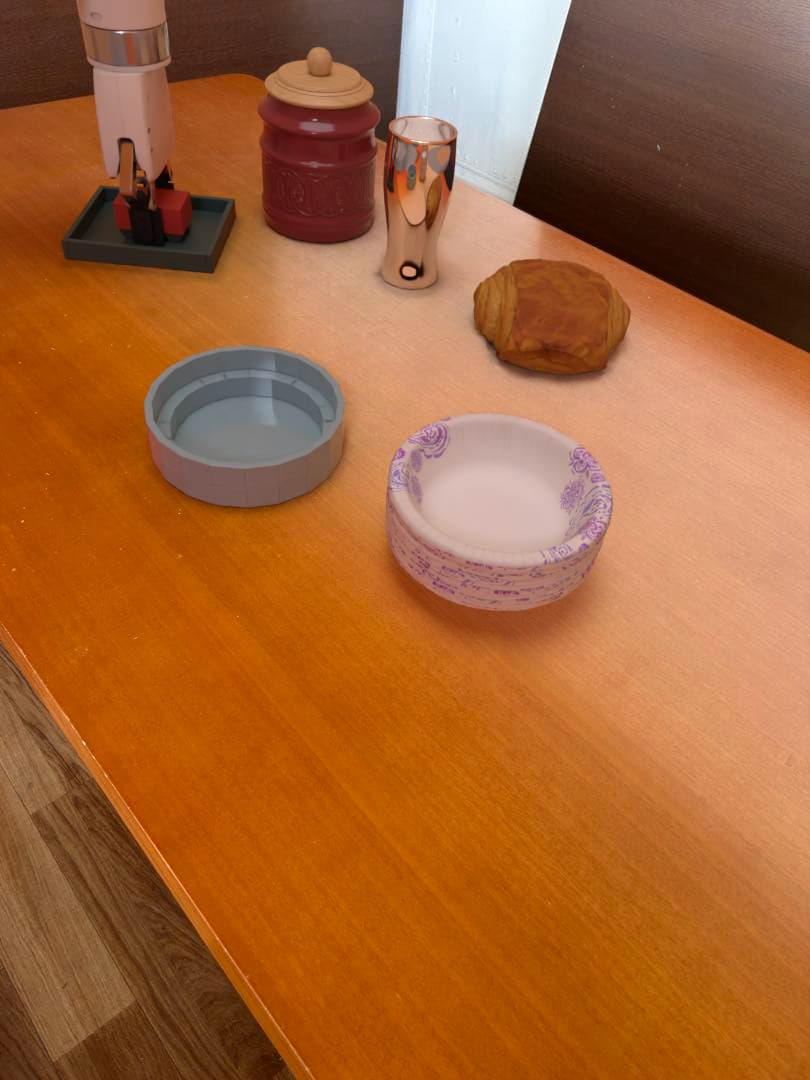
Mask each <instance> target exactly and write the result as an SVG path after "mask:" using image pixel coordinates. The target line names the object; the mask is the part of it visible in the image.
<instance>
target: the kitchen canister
mask: <svg viewBox="0 0 810 1080" xmlns="http://www.w3.org/2000/svg"><path fill="white" fill-rule="evenodd" d="M264 88H265V90H266V92H267V94H266V95H265V96H263V97H262V98H261V99H260V100H259V102H258V104H257V108H256V109H257V113H258V116H259V117H260V118H261V120H262V121H263V122H262V124H263V125H262V126H263V127H262V132H261V134H260V135H259V138H258V144H259V147H260V152H261V155H260V156H261V174H262V175H261V176H262V193H261V200H262V202H261V206H262V210H263V212H264V217H265V221H266V222H267V223H268V225H269V226H270V227H271V228H272V229H273V230H275V231H276V232H278V233H280V234H282V235H284V236H286V237H288V238H292V239H295V240H299V241H304V242H310V243H311V242H312V243H336V242H337V243H338V242H343V241H344V242H345V241H347V240H351V239H354V238H356V237H359V236H361V235H363V234H364V233H365V232H367V231H368V230H369V229H370V227H371V226H372V223H373V217H374V215H375V212H376V198H375V191H376V190H375V189H376V188H375V187H376V170H377V155H378V153H379V143H378V141H377V139H376V138H375V137H376V135H375V133H376V132H375V128H376V127H377V125H378V124H379V123H380V120H381V112H380V110H379V108H378V107H377V105H376V104H375V103H374V102H372V101H371V99H372V98H373V96H374V92H375V91H374V86H373V85H372V84H371V83H370V82H369V81H368V80H367V79H366V78H365V77H364V76H363V77H362V76H361V73H360V72H358V71H357V70H356V69H354V68H353V67H351V66H348V65H347V64H343V63H341V62H336V61H333V57H332V55H331V53H330V51H329V50H328V49H326V48H325V47H322V46H315V47H313V48H311V49H310V50H309V52H308V53H307V56H306V59H301V60H293V61H290V62H287V63H284V64H282V66H280V67H278V69H277V70H276V71H274V72H272V73H271V74H269V75H268V76H267V77H266V78H265V80H264Z"/></svg>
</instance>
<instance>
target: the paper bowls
mask: <svg viewBox="0 0 810 1080" xmlns="http://www.w3.org/2000/svg"><path fill="white" fill-rule="evenodd" d="M611 488H612V487H611V485H610V482H609V479H608V476H607V474H606V472H605V471H604V469H603V467H602V466H601V465H600V463H599V462H598V460H597V459H596V458H595V456H593V454H592V453H591V452H590V451H588V449H586V448H585V447H584V446H583V445H582V444H580V443H579V442H578V441H576V439H574V438H572V437H570V436H569V435H567V434H565V433H563V432H561V431H560V430H558V429H556V428H554V427H553V426H552V427H551V426H550V425H548V424H545V423H542V422H540V421H536V420H534V419H530V418H526V417H523V416H518V415H512V414H507V413H500V412H499V413H497V412H473V413H463V414H458V415H453V416H448V417H444V418H440V419H438V420H435V421H433V422H431V423H429V424H426V425H425V426H423V427H422V428H420V429H418V430H416V431H415V432H414V433H413V434H411V435H410V436H409V437H408V438H407V439H406V440H404V442H403V443H402V444H401V445H400V447H399V448H398V450H396V452H395V453H394V456H393V457H392V460H391V461H390V464H389V468H388V474H387V487H386V497H385V498H386V500H385V514H384V515H385V517H384V522H385V533H386V538H387V542H388V546H389V547H390V549H391V552H392V554H393V556H394V558H395V559H396V561H397V563H398V564H399V566H401V568H403V569H404V570H405V572H407V573H408V574H409V575H410V577H411V578H412V579H414V581H416V582H418V583H419V584H420V585H422V586H423V587H424V588H426V589H427V590H429V591H430V592H432V593H433V594H435V595H437V596H439V597H441V598H443V599H445V600H447V601H450V602H452V603H455V604H456V605H461V606H463V607H464V606H465V607H468V608H473V609H480V610H484V611H485V610H486V611H497V612H501V611H502V612H516V611H520V612H521V611H526V610H531V609H535V608H538V607H541V606H545V605H548V604H551V603H554V602H556V601H558V600H561V599H563V598H564V597H566V596H567V595H569V594H571V592H573V591H574V590H576V589H577V588H578V587H579V586H580V585H581V584H582V583H583V582H584V581H585V580H586V578H587V576H588V575H589V574H590V573H591V571H592V569H593V567H594V565H595V563H596V561H597V558H598V555H599V553H600V551H601V549H602V547H603V542H604V539H605V536H606V534H607V532H608V529H609V527H610V525H611V521H612V516H613V504H614V501H613V500H614V497H613V492H612V489H611Z"/></svg>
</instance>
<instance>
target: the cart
mask: <svg viewBox="0 0 810 1080" xmlns="http://www.w3.org/2000/svg"><path fill="white" fill-rule="evenodd" d="M137 187H138V190H143V191H144V193H145V194H146V195H147V188H146V187H143V186H138V185H137ZM190 194H191V192H190V191H187V190H177V189H175V190H169V189H160V188H155V196H156V207H157V208H160V211H161V218H162V224H163V231H164V233H165V235H166V237H167V239H168V240H169V241H171V242H174V243H177V242H179V241H181V239H182V237H183V235H184V233H185V231H186V229H187V227H188V225H189V223H190V221H191V219H192V207H191V198H190ZM113 208H114V213H115V218H116V224H117V228H118V229H120V232H121V233H122V235H124V236H125V237H127V238H133V235H132V230H131V224H130V219H129V213H128V209H127V208H126V201H125V199H124V198H123V197H122V196H121V195H120V192H119V194H118V195H117V197H116V198H115V200H114V202H113Z"/></svg>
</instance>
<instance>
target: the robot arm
mask: <svg viewBox="0 0 810 1080" xmlns="http://www.w3.org/2000/svg"><path fill="white" fill-rule="evenodd" d="M75 2H76V7H77V11H78V17H79V22H80V27H81V33H82V37H83V38H82V39H83V42H84V48H85V52H86V53H85V54H86V60H87V62H88V63H89V64H90V65H91V66H93V69H92V73H93V74H92V75H93V76H92V77H93V78H92V79H93V93H94V103H95V105H94V106H95V112H96V113H95V114H96V119H97V126H98V127H97V128H98V134H99V140H100V147H101V154H102V160H103V166H104V171H105V174H106V176H107V177H108V178H109V180H115V179H116V178H118V176H119V182H118V183H119V184H118V185H119V186H118V187H119V192H120V195H121V196H122V197H123V198H124V199H125V201H126V208H127V209H128V213H129V219H130V224H131V230H132V235H133V241H134V243H136V244H139V245H150V246H160V247H161V246H163V245H164V243H165V238H164V231H163V224H162V218H161V211H160V208H157V207H156V196H155V188H160V189H169V190H176V189H175V183H174V182H173V181H174V172H173V168H172V164H171V157H172V155H173V152H174V150H175V148H176V147H175V146H176V135H175V123H174V115H173V114H174V113H173V109H172V100H171V95H170V88H169V84H168V77H167V71H166V67H168V66H169V65H170V63H172V54H171V45H170V39H169V32H168V23H167V15H166V14H167V13H166V7H165V0H75ZM138 171H139V172H143V174H144V175H137V172H138ZM138 184H139V185H142V187H146V188H147V195H146V194H145V193H144V191H143V190H138V187H137V186H138Z"/></svg>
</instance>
